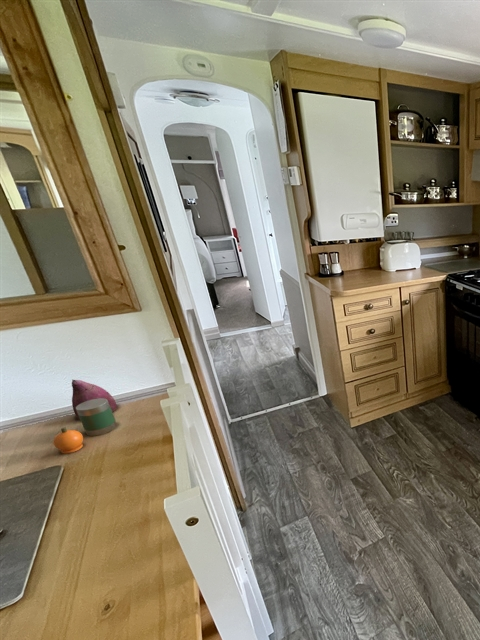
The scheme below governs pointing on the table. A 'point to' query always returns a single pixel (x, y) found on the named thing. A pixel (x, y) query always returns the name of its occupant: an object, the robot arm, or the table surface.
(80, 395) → the vegetable
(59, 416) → the table surface
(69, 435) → the pumpkin
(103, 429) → the tin
